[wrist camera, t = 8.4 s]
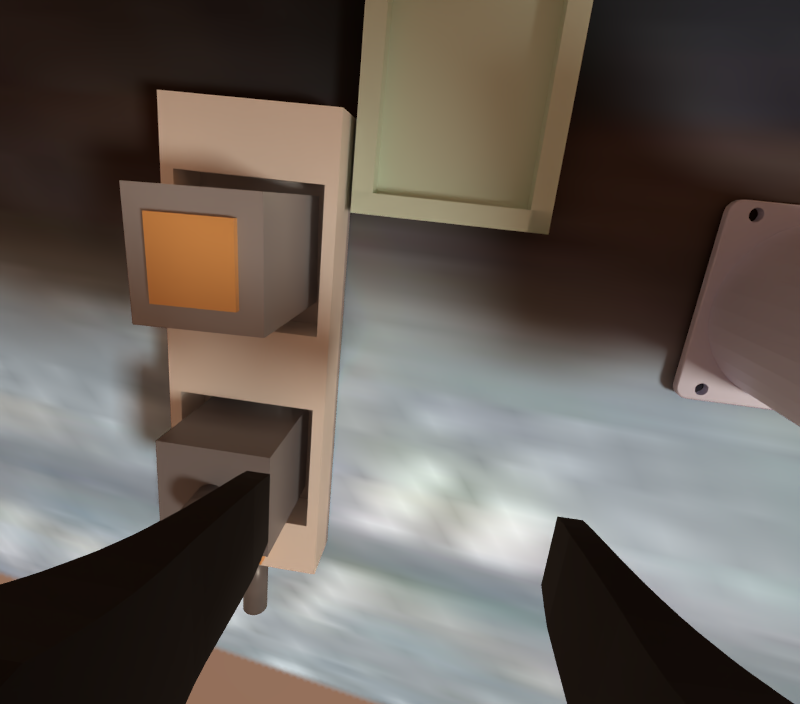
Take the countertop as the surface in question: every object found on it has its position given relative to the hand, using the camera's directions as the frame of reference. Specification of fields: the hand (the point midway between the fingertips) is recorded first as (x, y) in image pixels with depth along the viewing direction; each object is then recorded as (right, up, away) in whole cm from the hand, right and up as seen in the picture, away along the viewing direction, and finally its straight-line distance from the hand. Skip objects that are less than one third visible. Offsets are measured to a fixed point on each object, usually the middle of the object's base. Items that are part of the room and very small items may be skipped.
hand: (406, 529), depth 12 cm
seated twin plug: (-7, 0, +12) cm, 13 cm away
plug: (-6, +9, +8) cm, 14 cm away
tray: (+2, +14, +6) cm, 16 cm away
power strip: (-6, +3, +11) cm, 13 cm away
